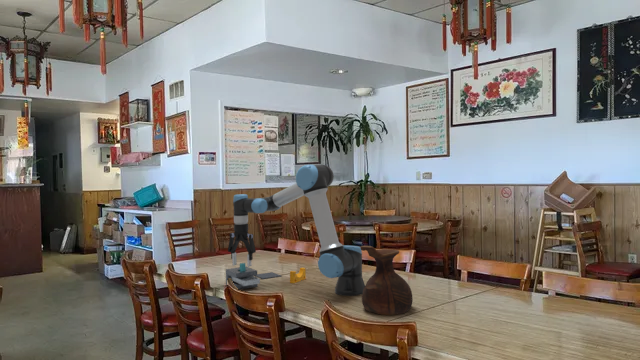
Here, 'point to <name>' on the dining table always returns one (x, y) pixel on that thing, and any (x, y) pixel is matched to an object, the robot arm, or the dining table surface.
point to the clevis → (243, 277)
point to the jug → (385, 286)
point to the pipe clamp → (297, 275)
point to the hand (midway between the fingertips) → (242, 265)
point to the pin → (242, 267)
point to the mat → (268, 275)
